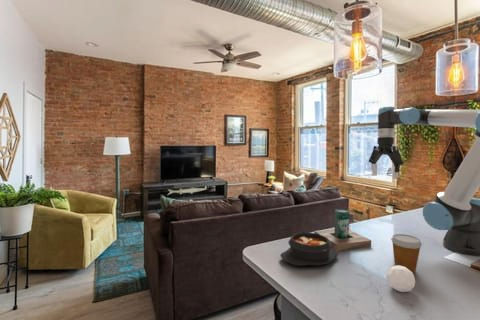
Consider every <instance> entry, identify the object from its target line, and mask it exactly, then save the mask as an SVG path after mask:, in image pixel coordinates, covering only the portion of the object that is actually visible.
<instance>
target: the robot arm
mask: <svg viewBox="0 0 480 320" xmlns="http://www.w3.org/2000/svg"><path fill="white" fill-rule="evenodd" d="M398 125H413V126H414V125H418V126H419V125H420V126H439V127H457V128H472V129H473V128H474V129H475V130H474V132H473V136H474V138H475V140H474V142H473V143H472V145H471V146H470V149H469V150H468V152H467V154H465V156H464V158H463V160H462V162H461V163H460V165H459V167H458V168H457V170H456V172H455V173H454V175H453V177H452V178H451V179H450V181H449V183H448V185H447V186H446V188H445V189H444V191H439V192H438V193H437V194H436V196H435V197H434V199H433V201H429V202H427V203H426V204H424V206H423V207H422V210H421V212H422V216H423V219H424V221H425V223H426V224H428V226H430V227H431V228H433V230H437V231H446V233H445V235H444V237H443V239H442V245H443V247H445V248H446V249H448V250H451V251H454V252H456V253H460V254H464V255H469V256H470V255H471V256H480V198H477V197H474V196H475V194H476V192H478V190H479V188H480V109H420V108H419V109H418V108H417V107H405V108H400V109H396V108H395V106H383V107H379V108H378V113H377V136H378V137H377V142H376V143H377V145H374V146H373V147H372V148H373V149H372V152H371V154H370V157H369V159H368V162H369V163H370V164H371V176H374V177H375V176H378V161H379V160H380V159H381V157H382V156H383V155H385V156H388V157H389V159H390V161H391V162H392V164H393V166H392V179H393V180H396V179H397V180H398V179H399V172H400V166H404V161H403V159H402V157H401V154H400V151H399V146H395V145H394V144H395V138H394V136H395V126H398Z"/></svg>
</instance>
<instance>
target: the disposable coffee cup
mask: <svg viewBox="0 0 480 320" xmlns="http://www.w3.org/2000/svg"><path fill="white" fill-rule="evenodd" d="M390 240H391V242H392V248H393V249H392V250H393V259H394V260H393V261H394V266H396V265H398V266H404V267H406V268H407V269H408V270H410V271H411V272H412V273H413V274H415V273H416V271H417V270H416V269H417V266H418V262H419V255H420V250H421V247H422V245H423V244H422V242H421V239H420V238H419V237H416V236H413V235H410V234H404V233H394V234H393V235H392V237H391V238H390Z"/></svg>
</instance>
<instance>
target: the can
mask: <svg viewBox="0 0 480 320" xmlns="http://www.w3.org/2000/svg"><path fill="white" fill-rule="evenodd" d="M334 229H335V233H334V236H335V237H336V238H338V239H346V238H349V230H350V210H348V209H344V208H336V209H335V210H334Z"/></svg>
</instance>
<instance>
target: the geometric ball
mask: <svg viewBox="0 0 480 320" xmlns="http://www.w3.org/2000/svg"><path fill="white" fill-rule="evenodd" d="M386 280H387V282H388V285H389V286H391V287H392V288H393V289H394V290H395V291H398V292H400V293H405V292H411V291H412V290H413V289H414V287H415V285H416V278H415V275H414V273H412V272H411V271H410V270H408V269H407V268H406V267H404V266H398V265H396V266H395V265H394V266H391V267H390V268H388V269H387V272H386Z"/></svg>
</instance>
